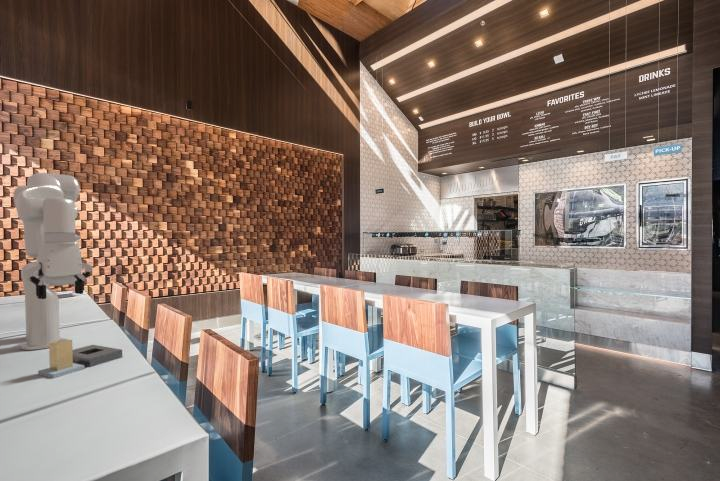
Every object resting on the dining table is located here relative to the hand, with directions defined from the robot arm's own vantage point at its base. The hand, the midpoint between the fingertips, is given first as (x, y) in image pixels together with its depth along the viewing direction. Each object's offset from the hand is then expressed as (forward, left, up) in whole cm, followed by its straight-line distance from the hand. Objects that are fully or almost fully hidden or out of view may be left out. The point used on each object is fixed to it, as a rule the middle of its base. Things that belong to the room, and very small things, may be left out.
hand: (61, 296), depth 110 cm
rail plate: (-3, +10, -22) cm, 25 cm away
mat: (+1, -1, -22) cm, 22 cm away
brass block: (+1, -1, -21) cm, 21 cm away
